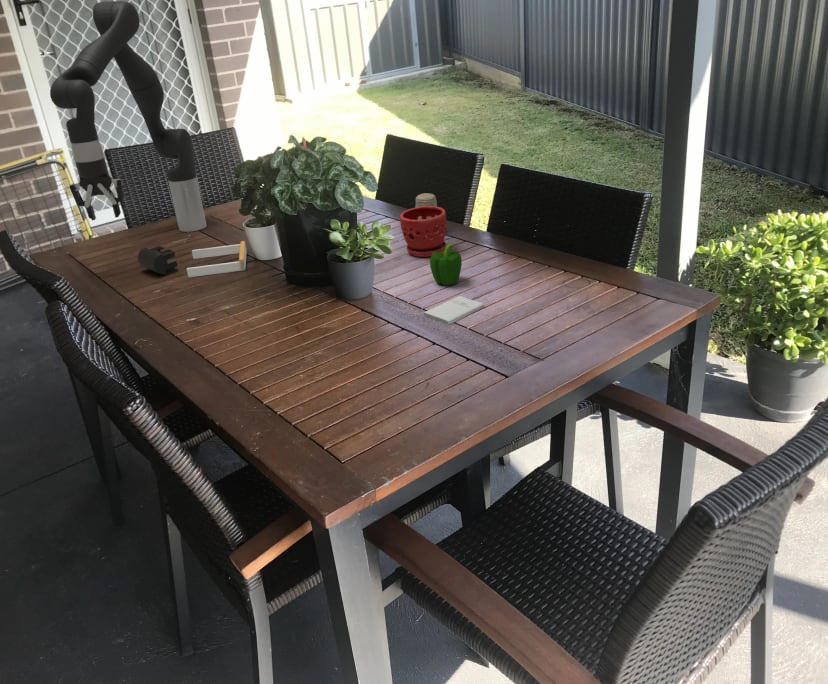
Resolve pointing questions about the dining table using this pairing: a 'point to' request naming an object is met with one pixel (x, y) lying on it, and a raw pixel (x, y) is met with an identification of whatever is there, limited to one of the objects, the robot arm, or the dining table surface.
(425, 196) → the carving
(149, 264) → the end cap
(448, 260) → the bell pepper
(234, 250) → the frame
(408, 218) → the plant pot
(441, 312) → the external hard drive
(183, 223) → the robot arm
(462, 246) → the dining table surface
